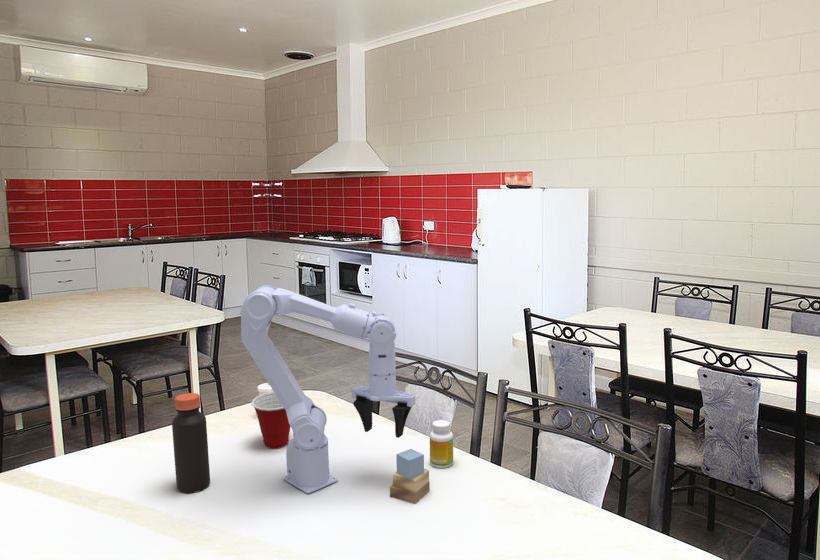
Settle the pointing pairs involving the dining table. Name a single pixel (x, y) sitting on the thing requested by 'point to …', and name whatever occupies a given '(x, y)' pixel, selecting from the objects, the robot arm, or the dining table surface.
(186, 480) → the vinegar
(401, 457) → the slate blue cube
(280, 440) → the plastic cup
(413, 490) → the oak slab
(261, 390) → the beverage cup
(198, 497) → the dining table surface
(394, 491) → the walnut slab
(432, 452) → the supplement bottle
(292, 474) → the robot arm
